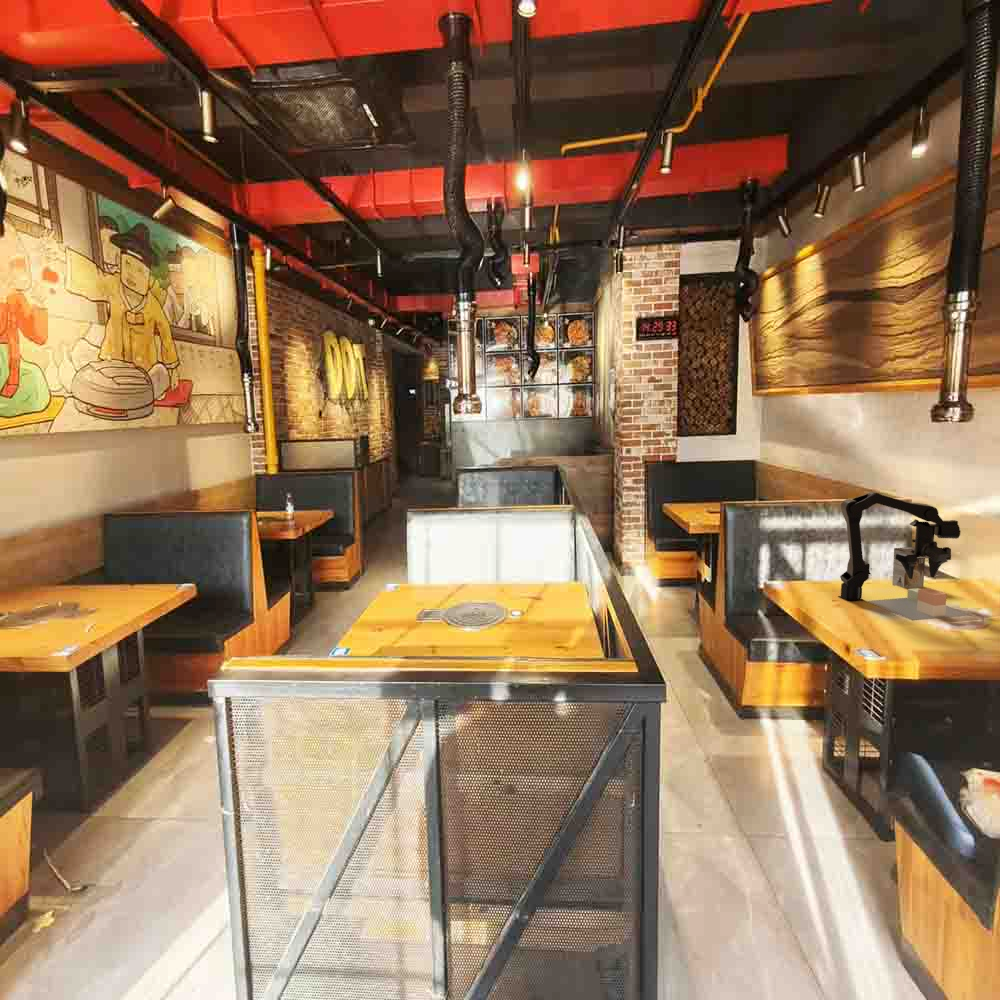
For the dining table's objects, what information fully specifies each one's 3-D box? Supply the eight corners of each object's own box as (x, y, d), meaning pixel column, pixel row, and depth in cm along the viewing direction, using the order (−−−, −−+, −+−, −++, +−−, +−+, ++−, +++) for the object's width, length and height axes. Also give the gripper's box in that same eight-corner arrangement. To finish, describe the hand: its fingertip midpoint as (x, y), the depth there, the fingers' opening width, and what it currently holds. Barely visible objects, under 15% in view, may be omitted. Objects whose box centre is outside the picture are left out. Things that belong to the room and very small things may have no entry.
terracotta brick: (945, 604, 206) (946, 594, 206) (934, 605, 206) (935, 595, 205) (928, 598, 213) (929, 588, 213) (917, 599, 212) (918, 589, 212)
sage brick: (933, 603, 219) (934, 593, 219) (922, 604, 219) (923, 594, 218) (917, 598, 226) (918, 588, 226) (907, 599, 226) (907, 589, 225)
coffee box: (911, 583, 247) (913, 546, 244) (923, 587, 240) (926, 549, 238) (891, 584, 245) (893, 547, 243) (903, 589, 239) (906, 551, 237)
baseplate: (912, 621, 204) (913, 609, 203) (865, 602, 225) (865, 591, 224) (973, 616, 207) (974, 604, 206) (920, 597, 228) (921, 586, 228)
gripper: (920, 543, 210) (917, 585, 212) (966, 540, 212) (962, 582, 215) (895, 537, 221) (892, 577, 223) (939, 534, 223) (936, 574, 226)
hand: (921, 578), depth 221 cm, fingers open, 9 cm apart
